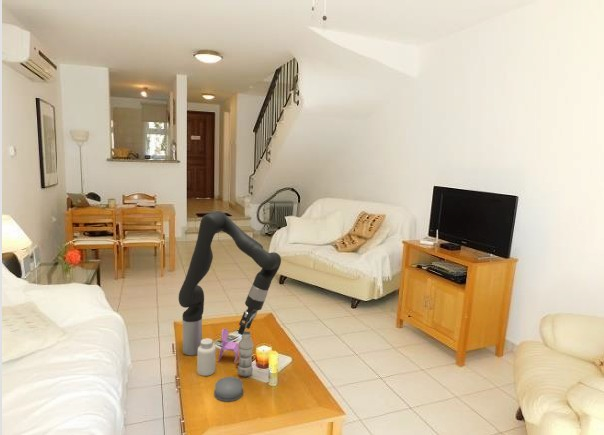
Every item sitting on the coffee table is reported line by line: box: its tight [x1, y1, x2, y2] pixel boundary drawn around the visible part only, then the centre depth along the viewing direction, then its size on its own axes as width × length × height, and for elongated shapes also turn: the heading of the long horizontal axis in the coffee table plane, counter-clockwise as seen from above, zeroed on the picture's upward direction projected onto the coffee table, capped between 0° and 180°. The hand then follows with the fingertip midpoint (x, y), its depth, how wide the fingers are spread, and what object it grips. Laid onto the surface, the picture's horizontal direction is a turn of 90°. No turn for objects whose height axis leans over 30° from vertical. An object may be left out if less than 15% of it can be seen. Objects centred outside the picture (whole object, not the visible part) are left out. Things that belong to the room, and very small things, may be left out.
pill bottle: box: [196, 337, 217, 377], centre depth 187 cm, size 8×8×15 cm
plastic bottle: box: [237, 330, 254, 378], centre depth 185 cm, size 6×7×20 cm
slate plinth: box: [213, 376, 244, 403], centre depth 172 cm, size 12×12×4 cm
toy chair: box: [217, 328, 239, 364], centre depth 198 cm, size 8×9×15 cm
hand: (243, 330), depth 178 cm, fingers open, 8 cm apart
